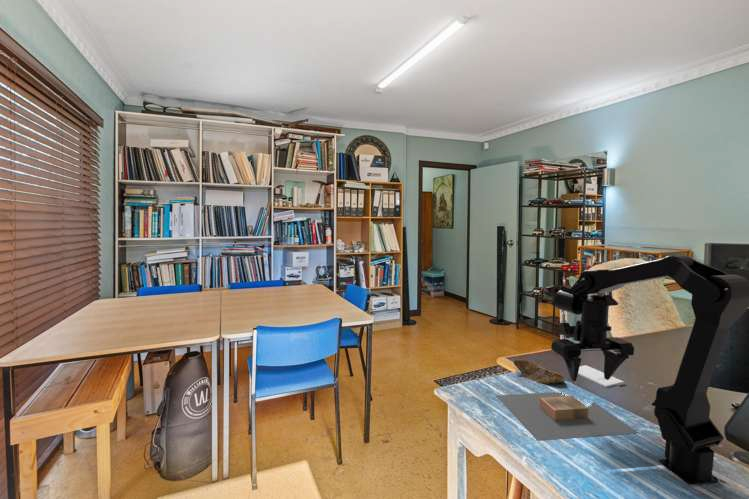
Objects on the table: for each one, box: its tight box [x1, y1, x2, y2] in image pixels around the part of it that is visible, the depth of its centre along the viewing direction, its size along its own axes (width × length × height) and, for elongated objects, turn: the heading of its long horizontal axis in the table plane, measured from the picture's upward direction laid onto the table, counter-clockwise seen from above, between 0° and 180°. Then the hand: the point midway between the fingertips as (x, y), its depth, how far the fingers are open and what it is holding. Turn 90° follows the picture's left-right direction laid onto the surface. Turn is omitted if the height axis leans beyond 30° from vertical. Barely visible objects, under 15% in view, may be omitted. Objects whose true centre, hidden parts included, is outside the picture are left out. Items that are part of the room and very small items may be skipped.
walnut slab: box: [540, 396, 589, 420], centre depth 89 cm, size 6×2×9 cm
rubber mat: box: [494, 391, 639, 442], centre depth 90 cm, size 20×25×1 cm
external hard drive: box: [578, 364, 625, 388], centre depth 111 cm, size 2×8×12 cm
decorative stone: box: [513, 358, 566, 385], centre depth 110 cm, size 10×4×15 cm
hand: (590, 379), depth 90 cm, fingers open, 9 cm apart
